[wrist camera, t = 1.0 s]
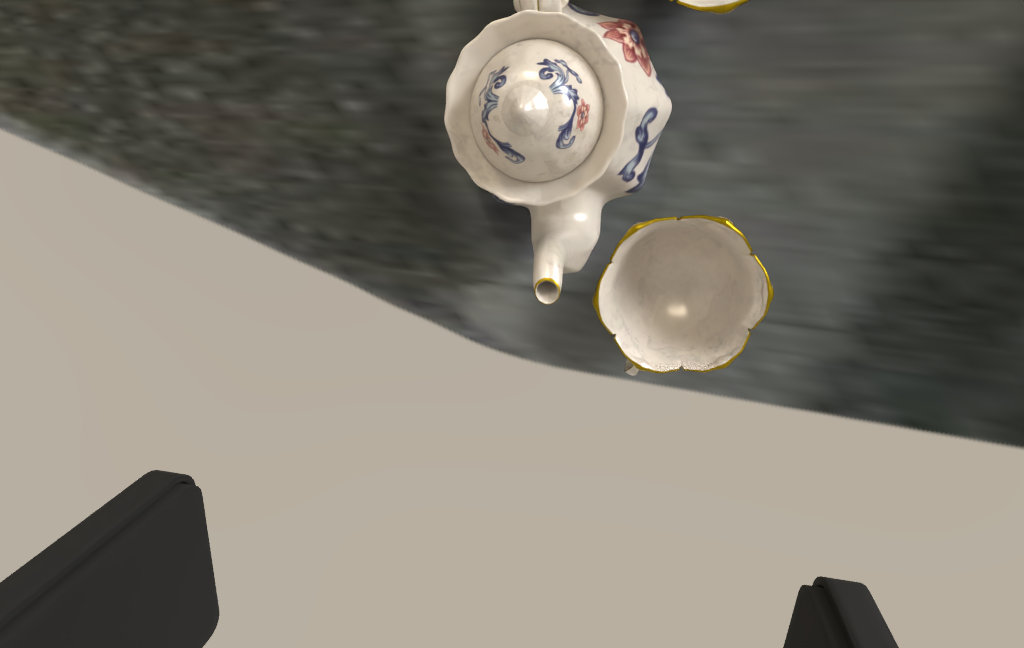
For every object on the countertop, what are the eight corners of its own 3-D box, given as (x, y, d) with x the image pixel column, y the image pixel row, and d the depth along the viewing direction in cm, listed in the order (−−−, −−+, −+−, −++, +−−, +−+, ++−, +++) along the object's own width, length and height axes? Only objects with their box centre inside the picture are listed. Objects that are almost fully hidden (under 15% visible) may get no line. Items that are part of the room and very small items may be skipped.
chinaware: (755, 343, 37) (904, 497, 21) (491, 359, 39) (447, 514, 23) (773, -201, 29) (1036, -604, 13) (436, -153, 30) (308, -462, 15)
